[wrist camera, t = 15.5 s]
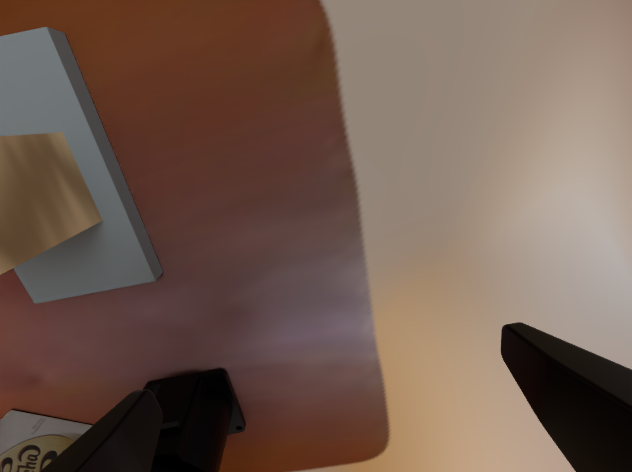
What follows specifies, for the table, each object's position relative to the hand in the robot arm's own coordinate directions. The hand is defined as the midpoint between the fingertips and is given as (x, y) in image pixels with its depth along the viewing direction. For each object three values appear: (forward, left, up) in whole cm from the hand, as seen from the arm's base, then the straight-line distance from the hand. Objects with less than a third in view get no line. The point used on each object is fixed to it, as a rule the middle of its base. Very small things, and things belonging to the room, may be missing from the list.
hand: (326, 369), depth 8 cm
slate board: (+5, +15, -13) cm, 20 cm away
